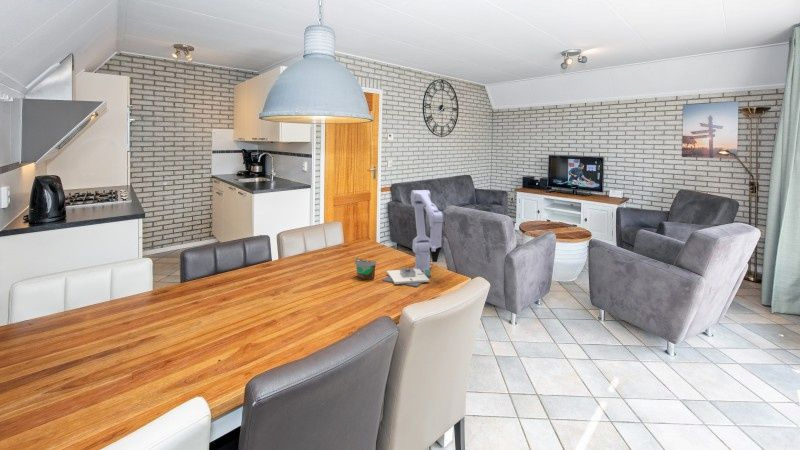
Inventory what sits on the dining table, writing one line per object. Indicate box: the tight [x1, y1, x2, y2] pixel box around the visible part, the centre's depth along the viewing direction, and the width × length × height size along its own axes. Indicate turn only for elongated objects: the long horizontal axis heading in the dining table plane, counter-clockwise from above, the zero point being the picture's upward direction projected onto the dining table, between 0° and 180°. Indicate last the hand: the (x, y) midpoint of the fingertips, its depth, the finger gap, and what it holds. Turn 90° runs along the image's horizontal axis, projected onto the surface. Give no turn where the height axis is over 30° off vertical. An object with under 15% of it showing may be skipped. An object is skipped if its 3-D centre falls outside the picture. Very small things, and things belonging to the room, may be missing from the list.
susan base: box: [382, 274, 432, 288], centre depth 212 cm, size 19×19×1 cm
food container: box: [354, 257, 377, 281], centre depth 210 cm, size 12×6×10 cm, turn 62°
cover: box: [399, 267, 416, 277], centre depth 212 cm, size 6×6×4 cm
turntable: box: [386, 268, 431, 285], centre depth 212 cm, size 18×21×4 cm
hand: (434, 261), depth 209 cm, fingers closed
